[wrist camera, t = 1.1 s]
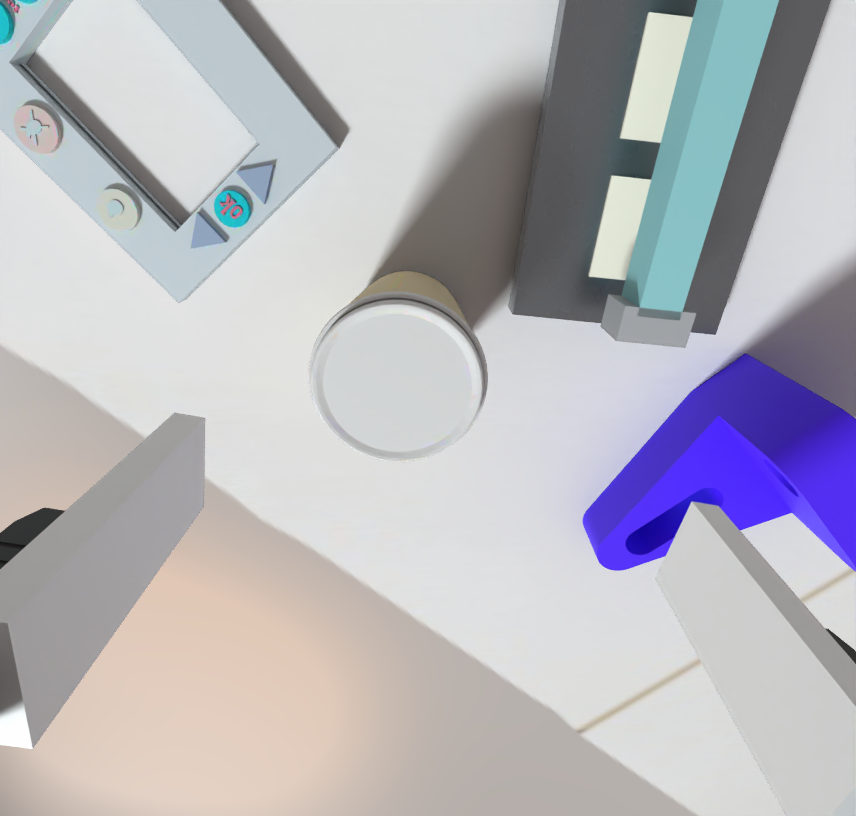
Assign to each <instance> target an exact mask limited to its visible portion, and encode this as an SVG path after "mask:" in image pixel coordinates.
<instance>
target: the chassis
mask: <svg viewBox="0 0 856 816" xmlns="http://www.w3.org/2000/svg"><path fill="white" fill-rule="evenodd" d="M830 1H831V0H779V2H778V6H777V9H776V12H775V15H774V18H773V22H772V25H771V28H770V31H769V34H768V38H767V41H766V44H765V47H764V51H763V54H762V57H761V60H760V63H759V67H758V70H757V73H756V76H755V80H754V83H753V86H752V89H751V92H750V96H749V99H748V102H747V105H746V109H745V112H744V115H743V118H742V121H741V125H740V128H739V131H738V134H737V137H736V141H735V144H734V147H733V150H732V154H731V157H730V160H729V163H728V166H727V170H726V173H725V176H724V179H723V183H722V186H721V189H720V192H719V195H718V199H717V202H716V205H715V208H714V212H713V215H712V218H711V221H710V224H709V228H708V231H707V234H706V237H705V240H704V244H703V247H702V250H701V253H700V257H699V260H698V263H697V266H696V269H695V273H694V276H693V279H692V282H691V286H690V289H689V292H688V295H687V298H686V302H685V305H684V307H686V308H687V309H689V310H691V311H693V312H695V313H696V316H695V319H694V323H693V326H692V329H691V332H694V333H704V334H714V335H716V332H717V329H718V326H719V323H720V320H721V317H722V314H723V311H724V308H725V305H726V303H727V300H728V297H729V294H730V291H731V288H732V285H733V282H734V279H735V276H736V274H737V271H738V268H739V265H740V262H741V259H742V256H743V253H744V250H745V247H746V245H747V242H748V239H749V236H750V233H751V230H752V227H753V224H754V221H755V218H756V216H757V213H758V210H759V207H760V204H761V201H762V198H763V195H764V192H765V189H766V186H767V184H768V181H769V178H770V175H771V172H772V169H773V166H774V163H775V160H776V157H777V155H778V152H779V149H780V146H781V143H782V140H783V137H784V134H785V131H786V128H787V126H788V123H789V120H790V117H791V114H792V111H793V108H794V105H795V102H796V99H797V96H798V94H799V91H800V88H801V85H802V82H803V79H804V76H805V73H806V70H807V67H808V65H809V62H810V59H811V56H812V53H813V50H814V47H815V44H816V41H817V38H818V36H819V33H820V30H821V27H822V24H823V21H824V18H825V15H826V12H827V9H828V7H829V4H830ZM696 4H697V0H560V1H559V7H558V13H557V19H556V25H555V31H554V37H553V43H552V49H551V55H550V61H549V67H548V73H547V79H546V85H545V91H544V97H543V103H542V109H541V115H540V121H539V127H538V133H537V139H536V145H535V151H534V157H533V163H532V169H531V175H530V181H529V187H528V193H527V199H526V205H525V211H524V217H523V223H522V229H521V235H520V241H519V247H518V253H517V259H516V265H515V271H514V277H513V283H512V289H511V295H510V301H509V309H510V311H511V312H512V314H515V315H525V316H535V317H545V318H555V319H565V320H575V321H585V322H595V323H601V322H602V318H603V314H604V310H605V306H606V302H607V298H608V294H610V295H620V296H622V292H623V288H624V284H625V280H618V279H608V278H598V277H589V271H590V267H591V263H592V258H593V254H594V249H595V245H596V241H597V236H598V232H599V227H600V223H601V218H602V214H603V210H604V205H605V201H606V196H607V192H608V188H609V183H610V179H611V175H612V176H621V177H631V178H640V179H649V180H651V179H652V175H653V171H654V167H655V163H656V159H657V155H658V152H659V148H660V144H661V143H657V142H648V141H640V140H631V139H622V138H620V135H621V130H622V126H623V121H624V117H625V112H626V108H627V104H628V99H629V95H630V90H631V86H632V82H633V77H634V73H635V68H636V64H637V59H638V55H639V51H640V46H641V42H642V37H643V33H644V29H645V24H646V20H647V15H648V13H649V12H653V13H661V14H669V15H678V16H686V17H693V15H694V11H695V8H696Z"/></svg>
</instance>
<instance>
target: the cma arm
mask: <svg viewBox="0 0 856 816" xmlns="http://www.w3.org/2000/svg"><path fill="white" fill-rule="evenodd" d="M778 2H779V0H697V4H696V8H695V11H694V15H693V19H692V23H691V27H690V31H689V35H688V39H687V43H686V46H685V50H684V54H683V58H682V62H681V66H680V70H679V74H678V78H677V81H676V85H675V89H674V93H673V97H672V101H671V105H670V109H669V113H668V116H667V120H666V124H665V128H664V132H663V136H662V140H661V144H660V148H659V152H658V155H657V159H656V163H655V167H654V171H653V175H652V179H651V183H650V187H649V190H648V194H647V198H646V202H645V206H644V210H643V214H642V218H641V222H640V225H639V229H638V233H637V237H636V241H635V245H634V249H633V253H632V257H631V260H630V264H629V268H628V272H627V276H626V280H625V284H624V288H623V292H622V296H620V295H610V294H608V298H607V302H606V306H605V310H604V314H603V318H602V322H601V327H602V328H603V329H604V330H605V331H606V332H607V333H608V334H609V335H610V336H611V337H613V338H614V339H615V340H616V341H622V342H632V343H642V344H652V345H662V346H672V347H683V348H685V347H686V344H687V341H688V338H689V335H690V332H691V329H692V326H693V323H694V319H695V316H696V313H695V312H693V311H691V310H689V309H687V308H686V307H684V305H685V302H686V298H687V295H688V292H689V289H690V286H691V282H692V279H693V276H694V273H695V269H696V266H697V263H698V260H699V257H700V253H701V250H702V247H703V244H704V240H705V237H706V234H707V231H708V228H709V224H710V221H711V218H712V215H713V212H714V208H715V205H716V202H717V199H718V195H719V192H720V189H721V186H722V183H723V179H724V176H725V173H726V170H727V166H728V163H729V160H730V157H731V154H732V150H733V147H734V144H735V141H736V137H737V134H738V131H739V128H740V125H741V121H742V118H743V115H744V112H745V109H746V105H747V102H748V99H749V96H750V92H751V89H752V86H753V83H754V80H755V76H756V73H757V70H758V67H759V63H760V60H761V57H762V54H763V51H764V47H765V44H766V41H767V38H768V34H769V31H770V28H771V25H772V22H773V18H774V15H775V12H776V9H777V6H778Z"/></svg>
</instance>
